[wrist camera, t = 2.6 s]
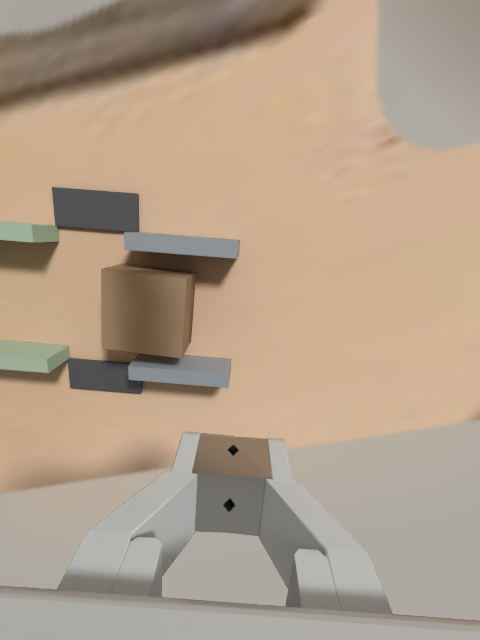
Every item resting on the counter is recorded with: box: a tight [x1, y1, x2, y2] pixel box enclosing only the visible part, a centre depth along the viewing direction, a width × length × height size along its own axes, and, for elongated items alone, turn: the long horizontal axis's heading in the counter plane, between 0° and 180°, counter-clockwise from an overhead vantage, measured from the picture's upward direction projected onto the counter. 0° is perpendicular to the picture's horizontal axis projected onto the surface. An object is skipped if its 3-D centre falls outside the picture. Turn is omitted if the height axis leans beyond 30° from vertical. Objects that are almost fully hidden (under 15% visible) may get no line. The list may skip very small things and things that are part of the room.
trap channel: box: [0, 187, 240, 394], centre depth 24 cm, size 23×17×3 cm
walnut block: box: [101, 264, 196, 358], centre depth 24 cm, size 6×6×4 cm
